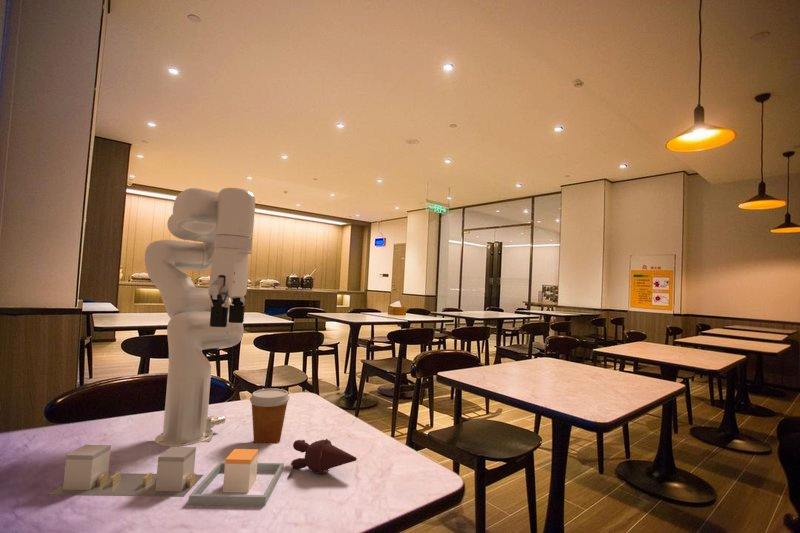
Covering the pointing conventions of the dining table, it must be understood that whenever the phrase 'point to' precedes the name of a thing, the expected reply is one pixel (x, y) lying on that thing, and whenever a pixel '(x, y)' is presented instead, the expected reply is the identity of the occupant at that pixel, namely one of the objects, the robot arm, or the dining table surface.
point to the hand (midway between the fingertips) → (227, 324)
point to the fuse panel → (128, 486)
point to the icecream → (320, 456)
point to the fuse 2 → (175, 468)
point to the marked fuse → (240, 470)
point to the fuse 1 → (86, 466)
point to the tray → (251, 500)
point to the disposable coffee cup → (268, 414)
